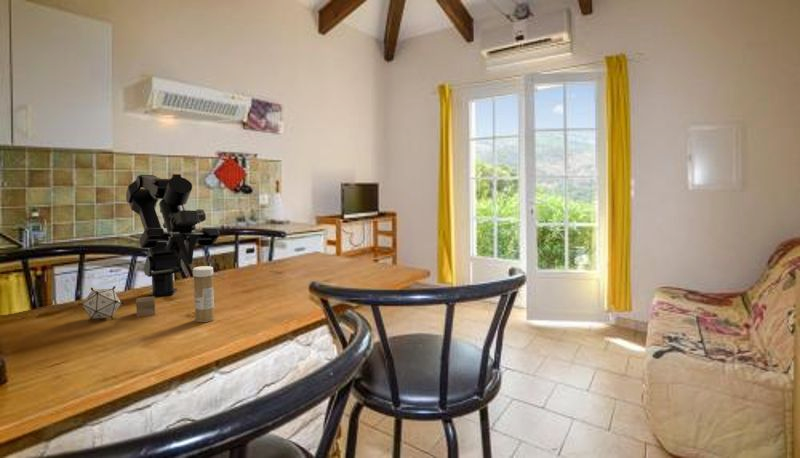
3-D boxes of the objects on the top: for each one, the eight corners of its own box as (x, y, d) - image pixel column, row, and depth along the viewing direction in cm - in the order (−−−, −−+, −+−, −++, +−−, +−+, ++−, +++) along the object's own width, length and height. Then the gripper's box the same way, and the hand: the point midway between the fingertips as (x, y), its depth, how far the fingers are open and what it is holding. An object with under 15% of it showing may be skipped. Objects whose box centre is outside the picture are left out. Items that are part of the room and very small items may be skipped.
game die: (105, 335, 102) (93, 311, 95) (78, 321, 103) (64, 296, 97) (135, 309, 109) (126, 285, 102) (109, 296, 110) (98, 271, 103)
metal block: (137, 313, 108) (136, 298, 108) (155, 310, 110) (154, 296, 110) (136, 317, 105) (136, 302, 104) (155, 315, 107) (154, 300, 106)
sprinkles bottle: (191, 320, 103) (189, 267, 101) (210, 315, 106) (207, 264, 105) (200, 324, 100) (197, 270, 99) (218, 319, 104) (216, 267, 102)
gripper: (146, 196, 102) (162, 248, 97) (219, 200, 117) (236, 245, 111) (133, 222, 108) (147, 273, 102) (204, 223, 122) (219, 267, 117)
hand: (190, 264), depth 108 cm, fingers closed
